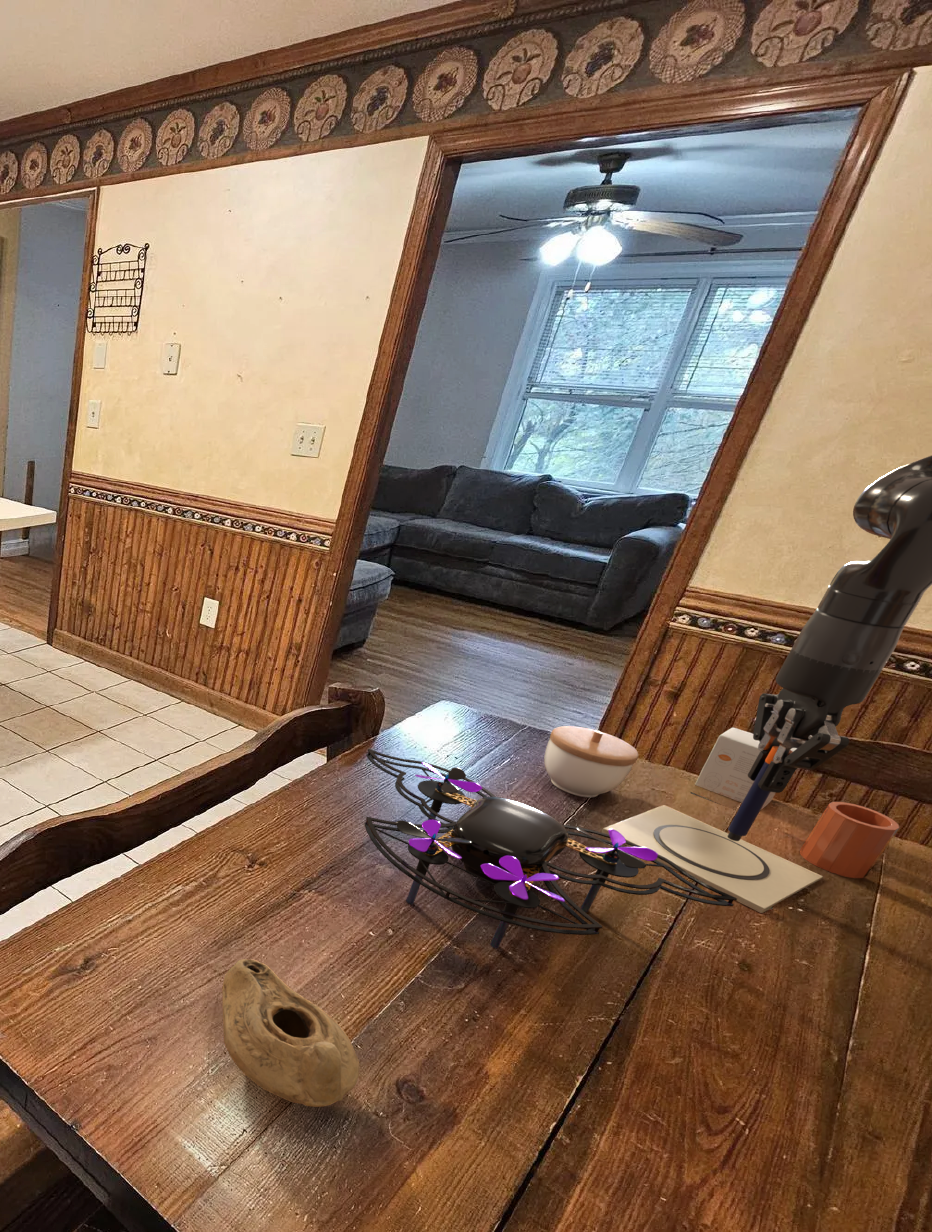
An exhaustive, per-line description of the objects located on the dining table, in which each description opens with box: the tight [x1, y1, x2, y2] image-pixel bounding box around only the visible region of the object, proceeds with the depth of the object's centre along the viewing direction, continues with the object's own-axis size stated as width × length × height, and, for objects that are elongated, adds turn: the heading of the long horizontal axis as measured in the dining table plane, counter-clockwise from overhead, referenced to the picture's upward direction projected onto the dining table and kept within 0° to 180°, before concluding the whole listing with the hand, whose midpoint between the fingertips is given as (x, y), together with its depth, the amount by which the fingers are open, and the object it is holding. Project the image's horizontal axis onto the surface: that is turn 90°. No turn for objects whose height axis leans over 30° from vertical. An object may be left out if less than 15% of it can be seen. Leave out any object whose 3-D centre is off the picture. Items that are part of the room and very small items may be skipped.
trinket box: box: [543, 725, 640, 798], centre depth 117 cm, size 11×11×9 cm
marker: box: [727, 746, 793, 841], centre depth 97 cm, size 2×2×13 cm
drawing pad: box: [601, 804, 824, 914], centre depth 104 cm, size 16×18×1 cm
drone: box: [363, 748, 737, 949], centre depth 91 cm, size 40×10×28 cm
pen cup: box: [799, 801, 900, 879], centre depth 102 cm, size 6×6×8 cm
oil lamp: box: [221, 958, 360, 1108], centre depth 69 cm, size 11×15×8 cm
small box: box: [689, 727, 797, 810], centre depth 115 cm, size 8×6×10 cm
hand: (763, 784), depth 97 cm, fingers closed on marker, 2 cm apart
